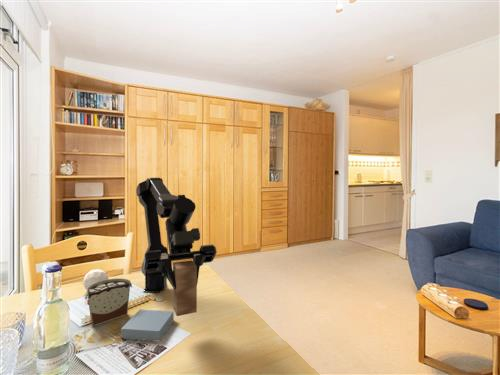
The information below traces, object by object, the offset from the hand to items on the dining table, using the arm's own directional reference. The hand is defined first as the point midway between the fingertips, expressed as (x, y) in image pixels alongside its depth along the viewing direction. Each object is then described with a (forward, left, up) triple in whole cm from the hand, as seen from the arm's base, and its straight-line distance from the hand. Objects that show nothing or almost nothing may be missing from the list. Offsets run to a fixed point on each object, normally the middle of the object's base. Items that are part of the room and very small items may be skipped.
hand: (185, 286), depth 71 cm
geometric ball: (-40, +24, -14) cm, 49 cm away
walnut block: (-1, +1, -7) cm, 7 cm away
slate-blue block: (-11, +3, -14) cm, 18 cm away
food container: (-26, +8, -14) cm, 31 cm away
